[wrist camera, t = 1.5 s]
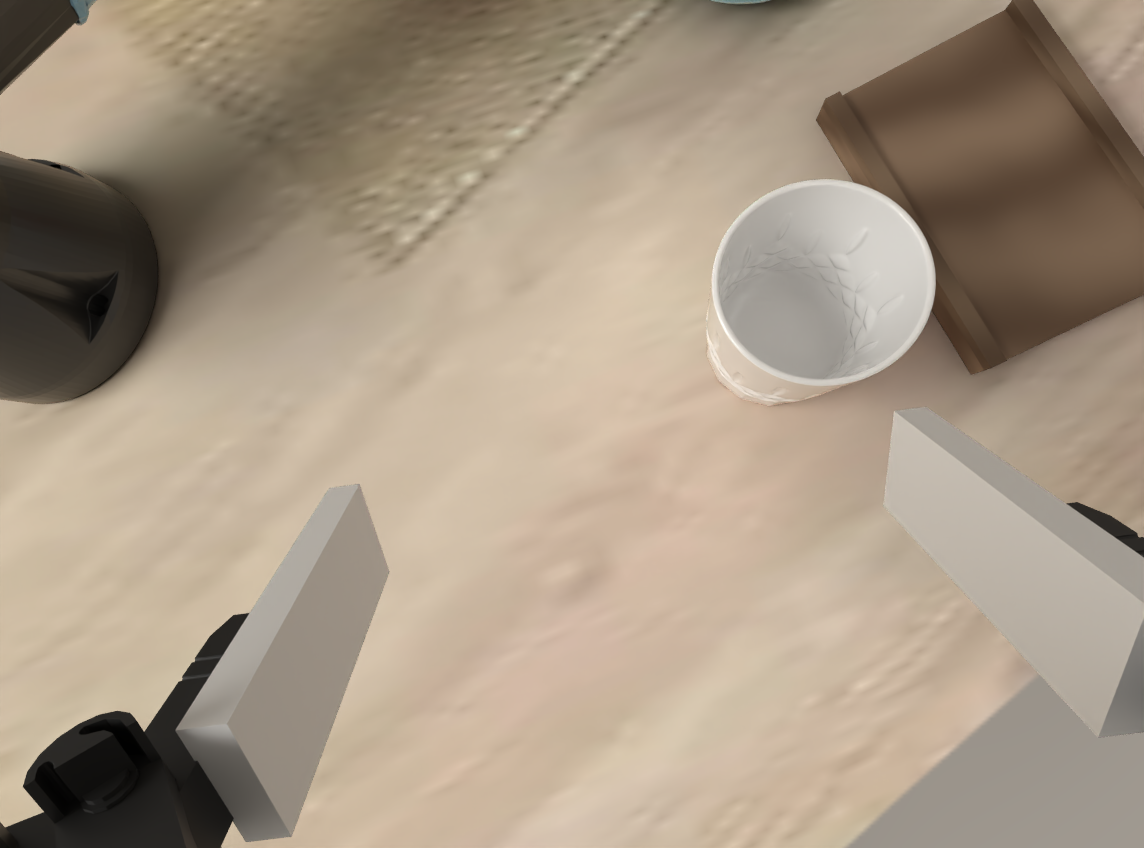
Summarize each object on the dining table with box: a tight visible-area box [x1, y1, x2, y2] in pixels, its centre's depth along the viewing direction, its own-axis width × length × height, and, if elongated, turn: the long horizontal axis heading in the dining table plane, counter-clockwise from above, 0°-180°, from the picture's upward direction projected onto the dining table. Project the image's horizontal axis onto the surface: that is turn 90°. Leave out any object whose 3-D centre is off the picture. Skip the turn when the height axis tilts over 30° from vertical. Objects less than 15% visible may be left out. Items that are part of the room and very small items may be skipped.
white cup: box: [706, 179, 936, 406], centre depth 27 cm, size 8×8×10 cm
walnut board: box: [816, 0, 1144, 375], centre depth 30 cm, size 16×11×2 cm
